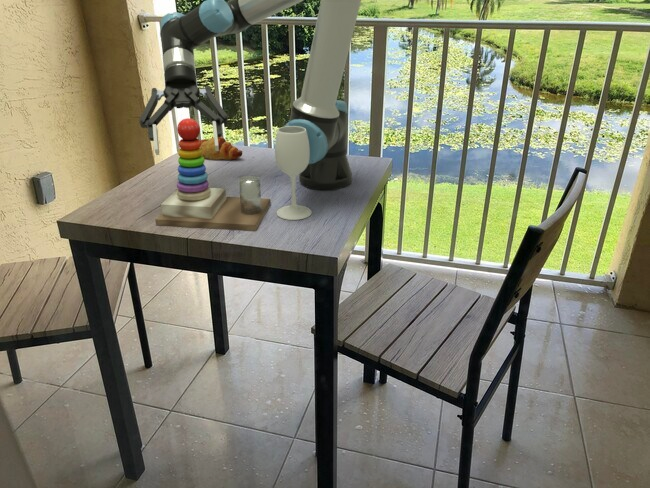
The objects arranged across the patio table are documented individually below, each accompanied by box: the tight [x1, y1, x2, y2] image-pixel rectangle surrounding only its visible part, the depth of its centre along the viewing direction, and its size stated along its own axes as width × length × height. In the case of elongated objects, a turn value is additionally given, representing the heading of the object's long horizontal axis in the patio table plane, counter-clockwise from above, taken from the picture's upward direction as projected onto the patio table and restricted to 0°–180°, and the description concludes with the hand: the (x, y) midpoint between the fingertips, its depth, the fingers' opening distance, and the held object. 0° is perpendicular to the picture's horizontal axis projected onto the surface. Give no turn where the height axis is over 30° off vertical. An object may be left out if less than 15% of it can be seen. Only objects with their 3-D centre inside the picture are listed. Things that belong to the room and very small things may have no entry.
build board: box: [155, 187, 272, 232], centre depth 125 cm, size 24×16×4 cm, turn 83°
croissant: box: [199, 136, 243, 161], centre depth 167 cm, size 21×10×8 cm, turn 64°
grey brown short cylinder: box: [238, 175, 262, 215], centre depth 123 cm, size 5×5×8 cm
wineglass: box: [274, 125, 312, 221], centre depth 122 cm, size 9×9×21 cm
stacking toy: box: [176, 118, 211, 201], centre depth 120 cm, size 8×8×19 cm
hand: (187, 150), depth 119 cm, fingers open, 13 cm apart
